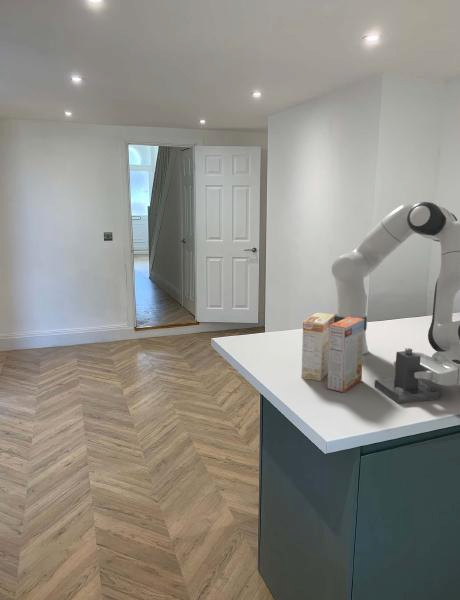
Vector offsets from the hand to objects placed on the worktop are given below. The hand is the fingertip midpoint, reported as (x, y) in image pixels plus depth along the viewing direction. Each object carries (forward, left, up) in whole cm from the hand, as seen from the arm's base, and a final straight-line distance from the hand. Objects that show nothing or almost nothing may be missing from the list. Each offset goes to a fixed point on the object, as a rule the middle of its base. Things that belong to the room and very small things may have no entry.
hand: (404, 369), depth 138 cm
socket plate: (+1, 0, -8) cm, 8 cm away
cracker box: (-17, +3, -8) cm, 19 cm away
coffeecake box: (-26, +12, -8) cm, 30 cm away
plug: (+1, 0, -7) cm, 7 cm away
